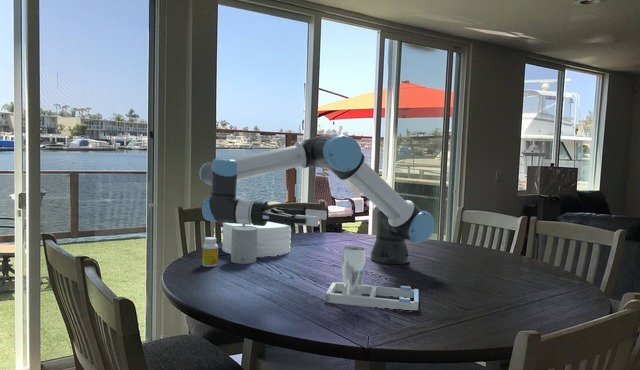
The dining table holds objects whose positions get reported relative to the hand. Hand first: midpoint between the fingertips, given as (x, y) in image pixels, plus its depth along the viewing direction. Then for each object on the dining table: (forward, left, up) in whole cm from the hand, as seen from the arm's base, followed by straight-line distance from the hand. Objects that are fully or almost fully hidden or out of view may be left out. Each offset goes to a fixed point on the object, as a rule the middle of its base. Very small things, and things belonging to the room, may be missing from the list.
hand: (322, 218), depth 150 cm
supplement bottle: (+27, -40, -23) cm, 54 cm away
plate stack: (+5, -64, -23) cm, 68 cm away
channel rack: (-14, +8, -23) cm, 28 cm away
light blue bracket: (-23, +13, -23) cm, 35 cm away
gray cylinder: (+14, -45, -23) cm, 53 cm away
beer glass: (-9, +5, -23) cm, 25 cm away
